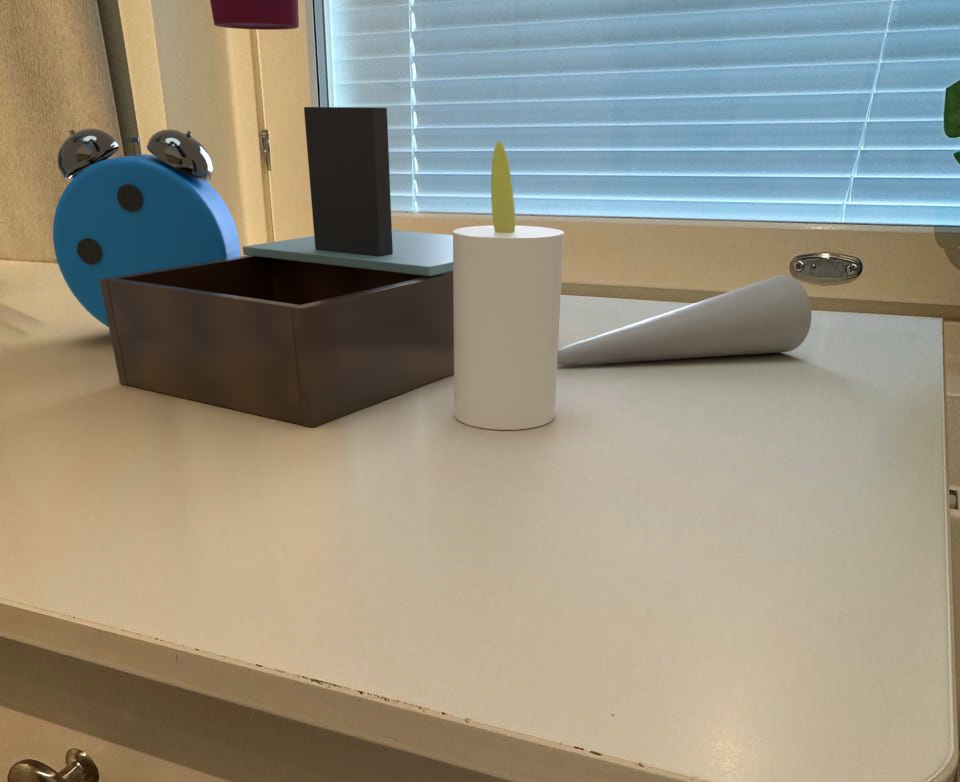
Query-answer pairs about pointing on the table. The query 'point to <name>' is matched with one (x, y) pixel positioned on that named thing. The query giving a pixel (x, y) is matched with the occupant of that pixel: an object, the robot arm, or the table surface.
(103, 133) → the alarm clock
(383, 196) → the upright panel on base
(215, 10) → the cup
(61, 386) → the table surface
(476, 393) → the candle
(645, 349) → the long tapered cone
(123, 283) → the display box
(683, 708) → the table surface
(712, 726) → the table surface
